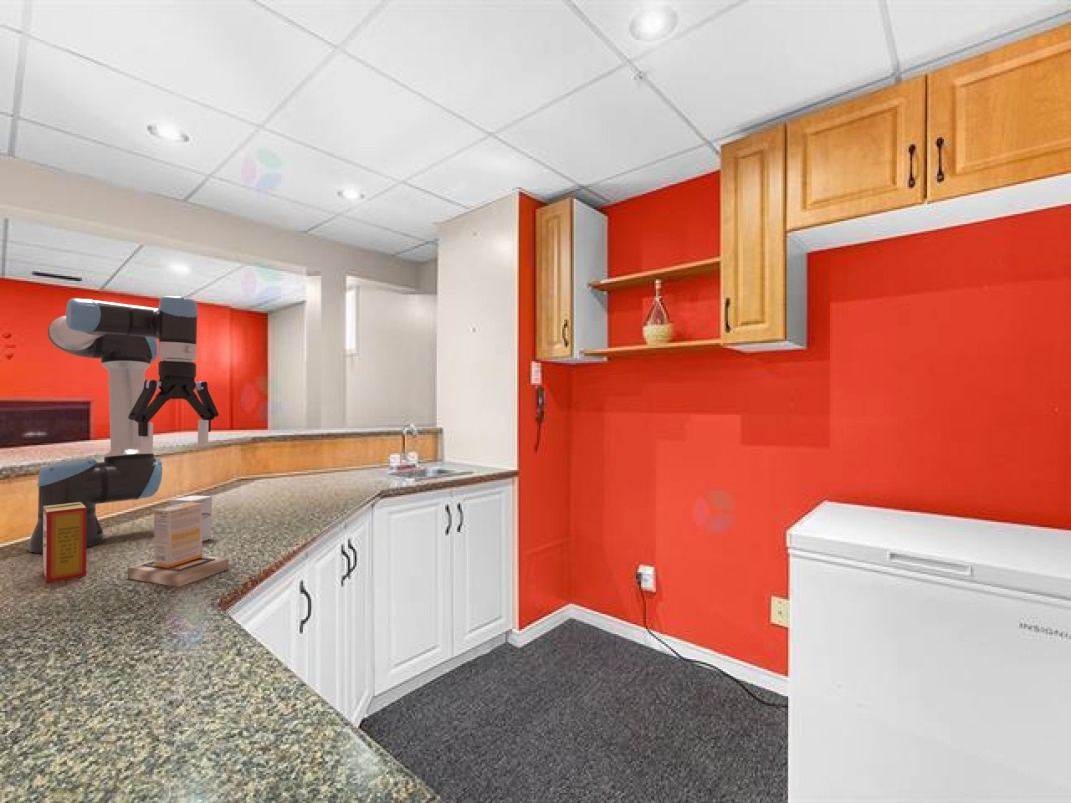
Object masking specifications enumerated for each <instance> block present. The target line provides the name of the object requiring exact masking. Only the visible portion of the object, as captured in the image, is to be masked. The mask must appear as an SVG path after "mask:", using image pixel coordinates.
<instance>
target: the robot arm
mask: <svg viewBox="0 0 1071 803" xmlns="http://www.w3.org/2000/svg"><path fill="white" fill-rule="evenodd" d="M65 308H66V310H65V315H63V316H60V317H58V318H56V319H54V320H53V321H51V323H50V324H49V325H48V327H47V337H48V339H49V341H50V343H51V344H53V345H54V346H55V347H56V348H57V349H59V350H61V351H62V352H65V353H67V354H70V355H73V356H77V357H81V358H89V359H90V358H91V359H100V360H101V362H100V363H101V364H100V365H101V366H102V367H103V368H104V369H105V370H107V372H108V399H109V400H108V402H109V403H108V404H109V408H108V409H109V434H110V435H109V438H110V439H109V440H110V442H109V443H110V451H109V452H107V453H106V454H105V455H104V456H103V460H104V461H103V462H97V460H96V459H95V458H81V459H72V460H65V461H60V462H59V461H58V462H56V463H51V464H47V465H45V466H43V467H42V468H40V469H39V471H38V477H37V480H38V481H37V484H36V485H37V487H38V494H37V496H38V497H37V499H38V500H37V502H38V504H37V523H36V524H35V527H34V529H33V531H32V534H31V537H30V538H29V541H28V552H30V553H32V552H34V553H33V554H43V506H48V505H57V504H66V503H75V502H81V503H82V504H83V505H84V506H85V507H86V548H88V547H87V546H89V547H91V546H90V545H93V546H95V545H94V544H96V543H99V542H101V541H102V540H103V539H104V536H105V535H104V531H103V528H102V526H101V523H100V521H99V519H98V517H97V515H96V510H97V509H96V507H97V506H96V505H97V504H98V505H99V504H109V503H116V502H124V501H125V502H126V501H132V500H133V501H134V500H135V501H138V500H140V499H141V500H142V499H147V498H151V497H153V496H155V495H156V494H157V492H158V491H159V488H160V486H161V483H162V477H163V463H162V460H161V459H159V458H155V453H154V452H153V450H154V422H150V421H151V420H152V419H153V418H154V416H156V414H157V413H158V412H159V411H160V409H161V408H163V407H164V405H165V404H166V403H167V402H169V401H170V400H185V401H186V402H187V403H188V404H189V405H190V407H191V408H193V410H194V411H195V412H196V413H197V415H198V417H200V419H198V420H197V445H198V446H205V447H206V446H209V433H210V432H211V429H212V420H214V419H215V418H216V417H219V416H220V415H219V412H218V409H217V407H216V405H215V402H214V400H213V398H212V396H211V394H210V392H209V387H208V382H207V381H201V380H200V381H196V380H195V379H196V377H197V363H196V362H194V361H196V360H197V339H198V338H197V336H198V335H197V334H198V330H197V329H198V316H199V313H198V303H197V301H196V300H195V299H192V298H188V297H183V296H175V295H174V296H173V295H165V296H161V297H160V299H159V302H158V306H157V307H154V306H153V307H150V306H144V305H134V304H126V303H117V302H110V301H102V300H93V299H92V298H77V297H76V298H74V297H73V298H70V299H69V300H68V301H67V305H66V307H65ZM157 340H158V341H157ZM157 357H158V358H159V359H161V360H160V361H159V362H158V370H157V371H158V377H159V380H158V381H157V380H156V379H146V371H147V370H148V369H149V368H150V367H151V366H152V365H151V362H154V361H156V360H157ZM157 389H159V392H158V393H157V394H156V395H155V393H156V390H157ZM195 390H196V392H195ZM196 393H197V394H196ZM154 395H155V398H154ZM103 541H104V540H103ZM103 541H102V542H103ZM102 542H101V543H102ZM99 544H100V543H99ZM96 545H97V544H96Z"/></svg>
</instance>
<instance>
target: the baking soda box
mask: <svg viewBox="0 0 1071 803" xmlns="http://www.w3.org/2000/svg"><path fill="white" fill-rule="evenodd" d="M42 575H43V578H44V577H45V578H44V579H45V583H47V584H48V582H49V583H53V582H57V581H58V582H59V581H63V580H68V579H75V578H80V577H84V576H83V575H85V576H87V547H86V507H85V506H84V505H83V504H82V503H81V502H75V503H66V504H57V505H48V506H43V553H42ZM79 576H80V577H79ZM74 577H75V578H74Z"/></svg>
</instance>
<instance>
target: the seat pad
mask: <svg viewBox="0 0 1071 803" xmlns="http://www.w3.org/2000/svg"><path fill="white" fill-rule="evenodd" d="M227 569H228V570H229V558H227V557H226V558H223V557H216V556H211V555H205V554H202V557H201V558H198V559H195V560H191V561H188V562H185V563H182V564H179V565H176V566H173V567H170V568H165V567H159V566H155V561H154V559H152V560H148V561H145V562H142V563H139V564H134V565H131V566H128V567H127V579H129V580H130V579H131V580H135V581H140V582H141V581H142V582H147V583H153V584H159V585H165V586H171V587H178V588H179V587H182V586H185V585H189V584H190V583H194V582H196V581H199V580H202V579H205V578H208V577H211V576H213V575H217V574H219V572H220V573H222V572H225V571H228V570H227ZM224 570H225V571H224ZM221 571H222V572H221ZM216 573H217V574H216ZM210 575H211V576H210Z"/></svg>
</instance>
